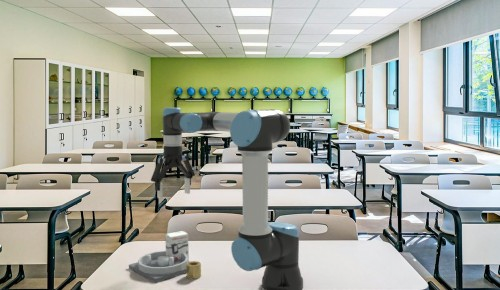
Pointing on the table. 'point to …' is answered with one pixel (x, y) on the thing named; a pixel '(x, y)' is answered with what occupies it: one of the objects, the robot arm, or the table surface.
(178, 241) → the ink box
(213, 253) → the table surface
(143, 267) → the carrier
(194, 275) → the tan hollow cylinder
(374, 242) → the table surface
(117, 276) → the table surface
